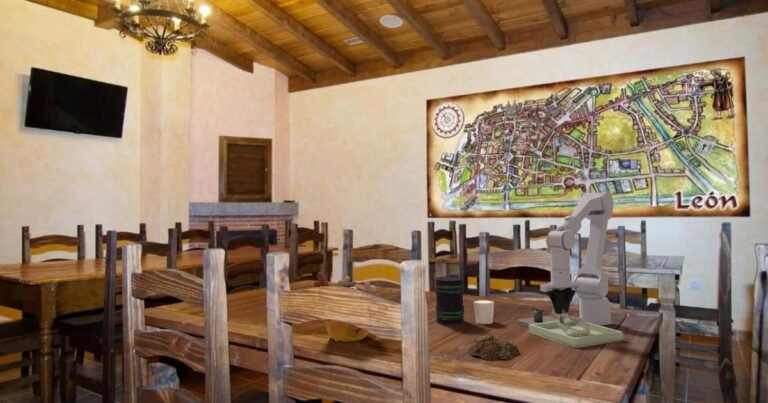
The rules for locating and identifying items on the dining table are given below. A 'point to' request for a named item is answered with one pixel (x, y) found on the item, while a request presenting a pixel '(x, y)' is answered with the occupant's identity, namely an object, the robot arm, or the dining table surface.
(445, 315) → the storage jar
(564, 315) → the ring
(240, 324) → the dining table surface
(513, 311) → the dining table surface
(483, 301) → the shot glass
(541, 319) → the base
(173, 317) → the dining table surface
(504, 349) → the brown lumpy mound
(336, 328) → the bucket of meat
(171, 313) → the dining table surface
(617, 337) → the tray
